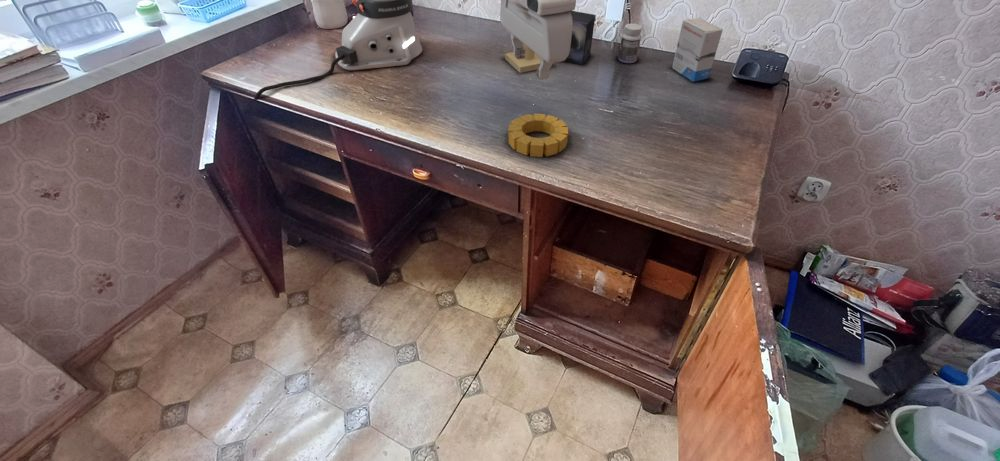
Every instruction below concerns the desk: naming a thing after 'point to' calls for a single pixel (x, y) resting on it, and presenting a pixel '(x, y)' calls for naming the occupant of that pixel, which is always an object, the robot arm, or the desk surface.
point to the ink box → (696, 49)
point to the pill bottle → (630, 43)
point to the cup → (330, 13)
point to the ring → (538, 145)
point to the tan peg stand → (524, 60)
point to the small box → (581, 37)
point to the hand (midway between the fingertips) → (530, 67)
